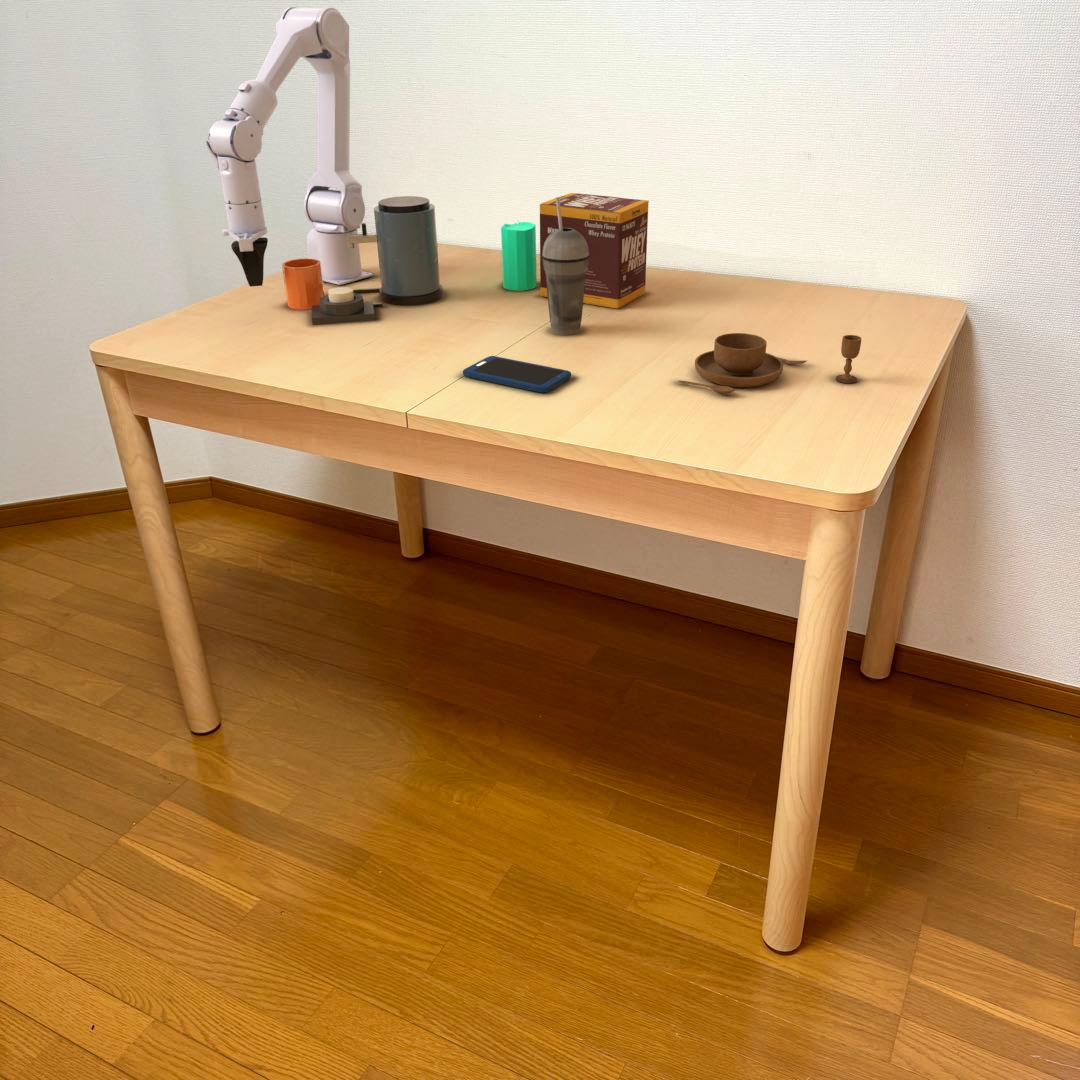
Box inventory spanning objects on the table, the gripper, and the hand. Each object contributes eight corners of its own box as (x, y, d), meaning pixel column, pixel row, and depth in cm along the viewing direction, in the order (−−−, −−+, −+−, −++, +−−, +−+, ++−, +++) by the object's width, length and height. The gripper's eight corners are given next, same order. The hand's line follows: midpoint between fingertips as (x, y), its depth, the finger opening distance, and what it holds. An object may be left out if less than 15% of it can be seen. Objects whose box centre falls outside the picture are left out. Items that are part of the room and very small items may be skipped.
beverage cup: (585, 339, 154) (585, 203, 144) (538, 337, 156) (535, 202, 146) (592, 324, 160) (593, 193, 151) (547, 322, 162) (545, 191, 152)
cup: (280, 305, 172) (274, 264, 169) (309, 297, 177) (303, 256, 173) (304, 312, 169) (298, 269, 166) (332, 303, 173) (327, 261, 170)
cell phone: (490, 359, 147) (490, 354, 146) (573, 376, 140) (573, 371, 140) (460, 375, 141) (460, 370, 141) (545, 393, 135) (545, 388, 134)
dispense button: (329, 305, 163) (328, 294, 162) (329, 298, 167) (327, 287, 166) (354, 303, 164) (353, 292, 163) (353, 296, 167) (352, 286, 166)
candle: (538, 281, 183) (537, 212, 177) (534, 290, 177) (533, 220, 171) (505, 281, 183) (502, 212, 177) (500, 290, 178) (498, 220, 172)
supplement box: (619, 309, 167) (621, 211, 159) (539, 296, 174) (537, 202, 167) (647, 293, 175) (650, 199, 167) (569, 281, 182) (569, 191, 174)
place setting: (733, 348, 149) (736, 309, 146) (862, 378, 138) (868, 336, 135) (667, 383, 138) (669, 341, 135) (802, 418, 127) (808, 373, 124)
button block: (312, 325, 163) (310, 306, 161) (312, 312, 169) (310, 294, 167) (375, 320, 164) (373, 302, 163) (373, 308, 170) (371, 290, 169)
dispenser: (330, 311, 169) (318, 212, 161) (330, 293, 178) (318, 199, 170) (446, 303, 172) (439, 205, 164) (439, 286, 181) (433, 193, 173)
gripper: (221, 193, 169) (234, 275, 175) (213, 211, 156) (228, 298, 163) (264, 191, 170) (276, 272, 176) (260, 208, 157) (273, 295, 164)
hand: (256, 285), depth 170 cm, fingers closed
